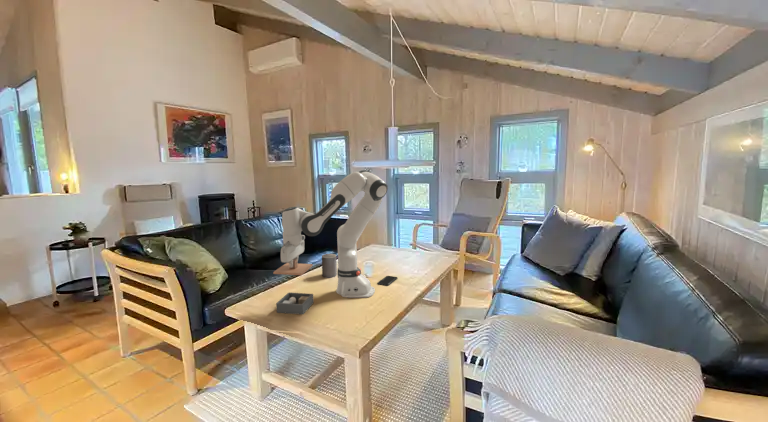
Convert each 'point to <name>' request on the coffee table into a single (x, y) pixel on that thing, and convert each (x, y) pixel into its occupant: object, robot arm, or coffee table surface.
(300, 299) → the birch cube
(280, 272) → the lid
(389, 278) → the phone
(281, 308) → the storage box
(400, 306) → the coffee table surface
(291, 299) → the off-white ball
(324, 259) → the pillar candle
